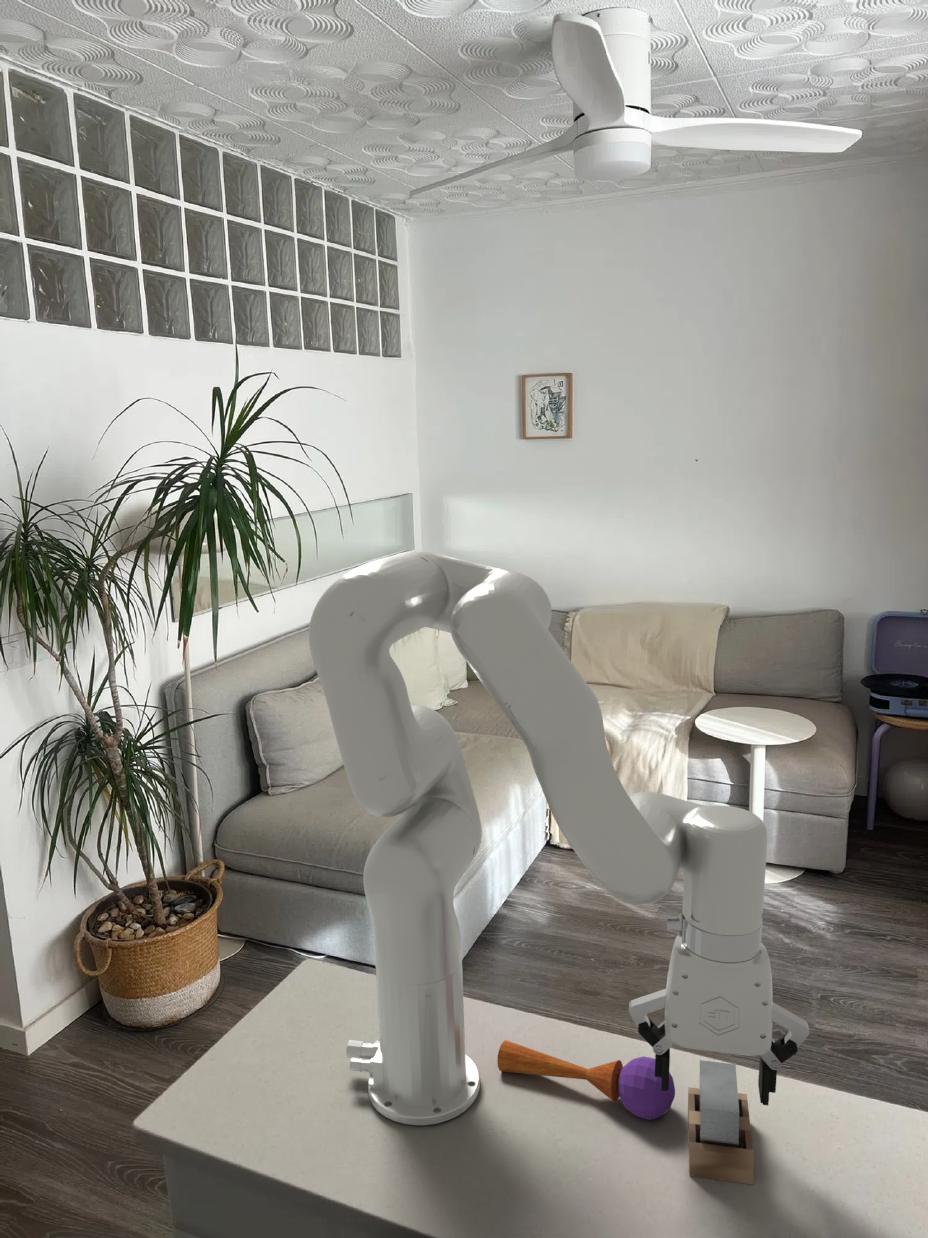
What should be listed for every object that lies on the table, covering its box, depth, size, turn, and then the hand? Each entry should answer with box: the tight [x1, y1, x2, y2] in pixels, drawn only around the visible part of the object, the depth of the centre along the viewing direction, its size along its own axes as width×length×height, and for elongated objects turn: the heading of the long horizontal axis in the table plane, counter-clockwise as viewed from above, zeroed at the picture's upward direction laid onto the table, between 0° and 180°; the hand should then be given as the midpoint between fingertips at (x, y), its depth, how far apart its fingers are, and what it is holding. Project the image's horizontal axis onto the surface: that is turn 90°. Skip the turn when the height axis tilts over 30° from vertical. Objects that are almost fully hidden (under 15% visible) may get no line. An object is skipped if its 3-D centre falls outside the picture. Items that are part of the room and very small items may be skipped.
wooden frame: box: [687, 1086, 755, 1185], centre depth 95 cm, size 6×9×3 cm, turn 168°
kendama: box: [497, 1039, 676, 1120], centre depth 104 cm, size 6×6×20 cm
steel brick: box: [698, 1060, 739, 1148], centre depth 95 cm, size 4×7×7 cm, turn 167°
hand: (713, 1089), depth 94 cm, fingers open, 9 cm apart
